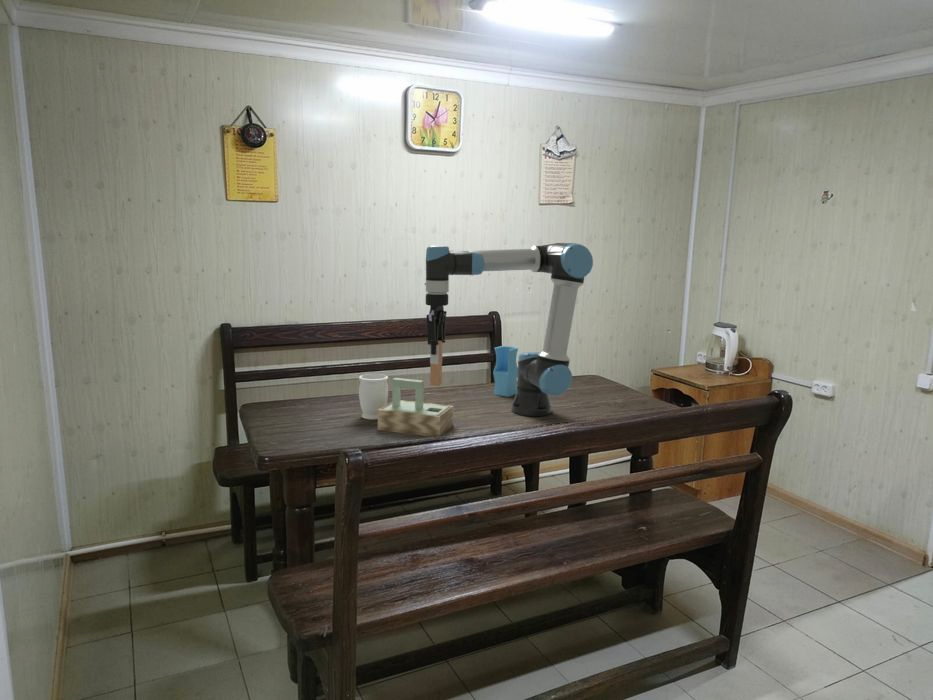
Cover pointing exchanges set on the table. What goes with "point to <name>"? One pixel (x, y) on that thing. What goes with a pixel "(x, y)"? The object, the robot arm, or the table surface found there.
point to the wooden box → (415, 421)
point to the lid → (418, 405)
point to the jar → (372, 394)
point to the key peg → (436, 369)
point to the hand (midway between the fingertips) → (436, 362)
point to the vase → (505, 371)
